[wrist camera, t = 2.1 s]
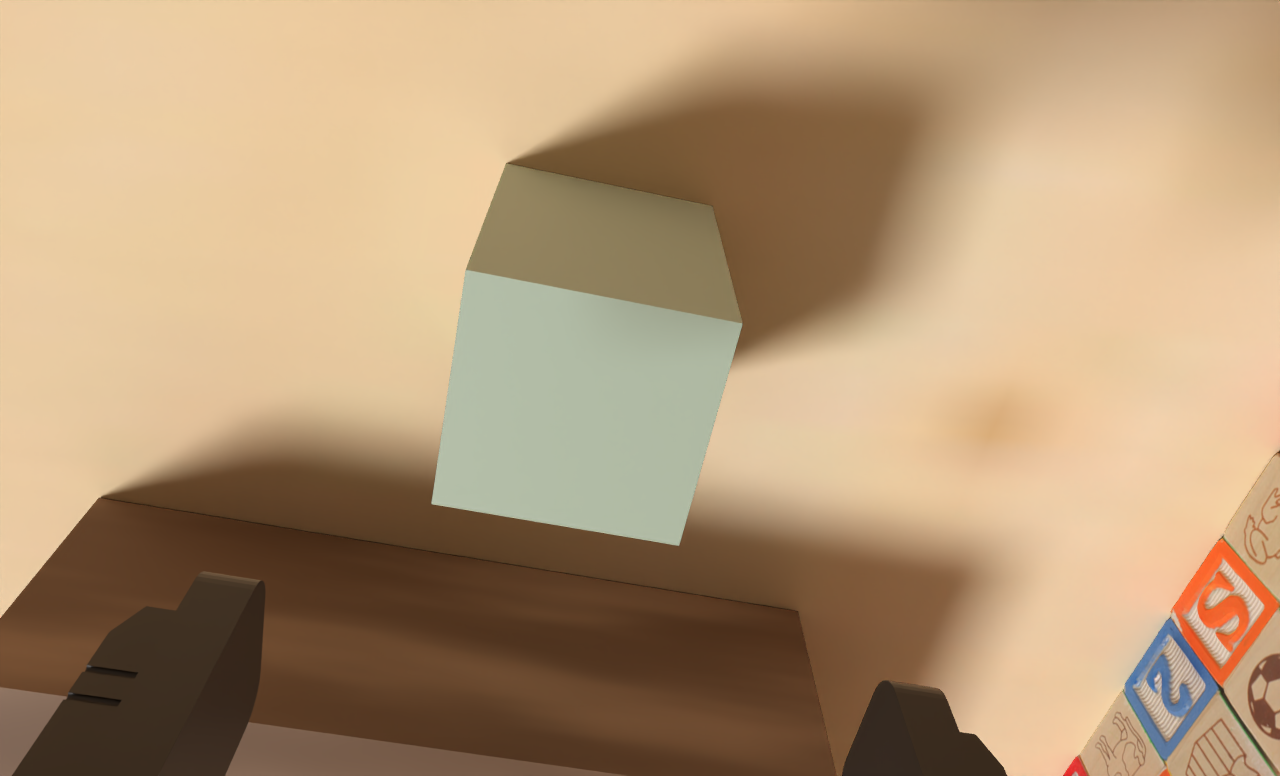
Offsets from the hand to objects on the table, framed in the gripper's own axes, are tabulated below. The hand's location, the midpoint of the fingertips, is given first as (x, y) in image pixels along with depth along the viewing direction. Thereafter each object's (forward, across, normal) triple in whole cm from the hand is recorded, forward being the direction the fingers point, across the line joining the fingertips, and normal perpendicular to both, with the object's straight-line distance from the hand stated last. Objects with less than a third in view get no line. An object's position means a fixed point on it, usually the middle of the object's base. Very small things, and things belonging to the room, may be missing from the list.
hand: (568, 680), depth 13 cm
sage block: (+14, 0, 0) cm, 14 cm away
